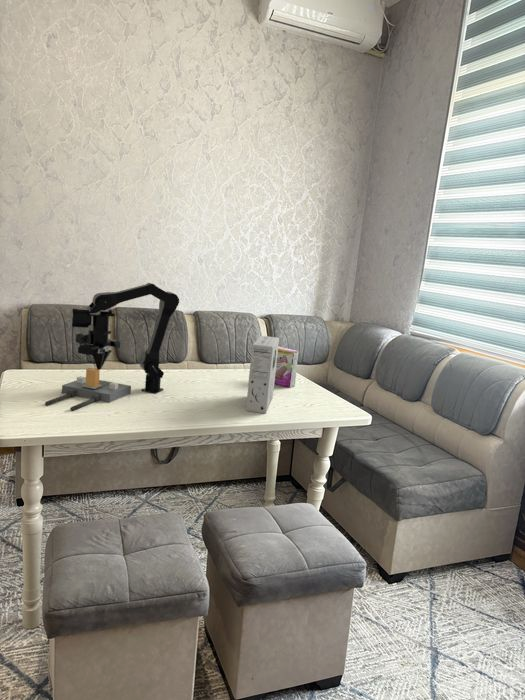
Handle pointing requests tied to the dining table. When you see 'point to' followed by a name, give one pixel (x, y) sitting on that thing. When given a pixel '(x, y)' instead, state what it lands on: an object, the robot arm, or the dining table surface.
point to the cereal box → (262, 374)
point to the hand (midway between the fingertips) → (99, 369)
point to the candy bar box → (286, 367)
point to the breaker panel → (97, 390)
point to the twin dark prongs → (68, 397)
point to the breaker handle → (92, 378)
